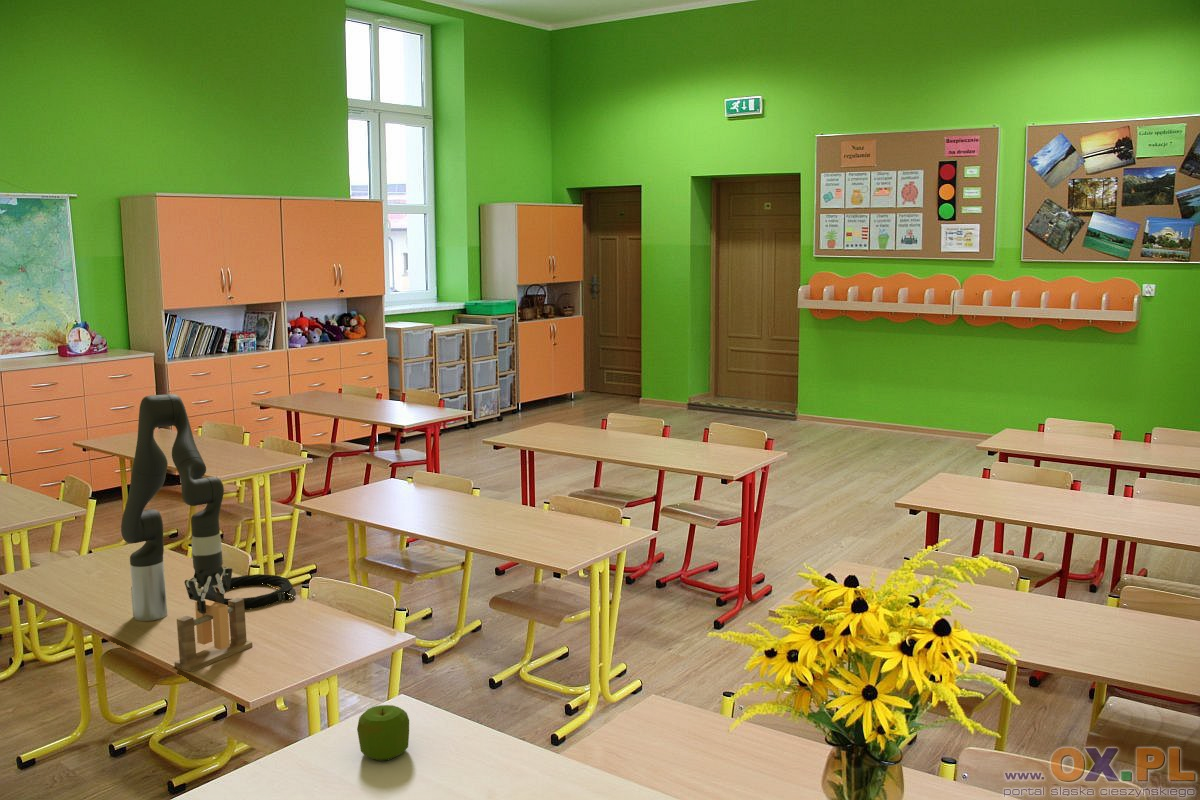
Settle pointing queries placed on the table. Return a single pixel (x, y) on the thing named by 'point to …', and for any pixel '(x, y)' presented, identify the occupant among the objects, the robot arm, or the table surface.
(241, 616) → the rail
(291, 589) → the cable lock
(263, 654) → the table surface
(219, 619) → the orange block
